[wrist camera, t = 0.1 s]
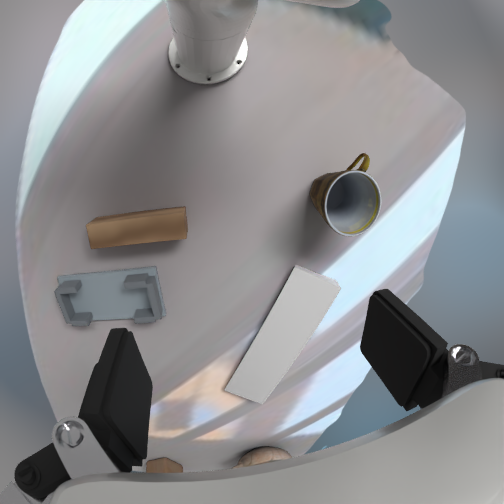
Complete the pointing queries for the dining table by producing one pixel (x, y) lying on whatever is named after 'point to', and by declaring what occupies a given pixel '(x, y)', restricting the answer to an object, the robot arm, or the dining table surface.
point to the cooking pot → (262, 456)
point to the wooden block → (163, 466)
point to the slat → (138, 227)
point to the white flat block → (283, 333)
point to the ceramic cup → (348, 199)
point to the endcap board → (111, 296)
